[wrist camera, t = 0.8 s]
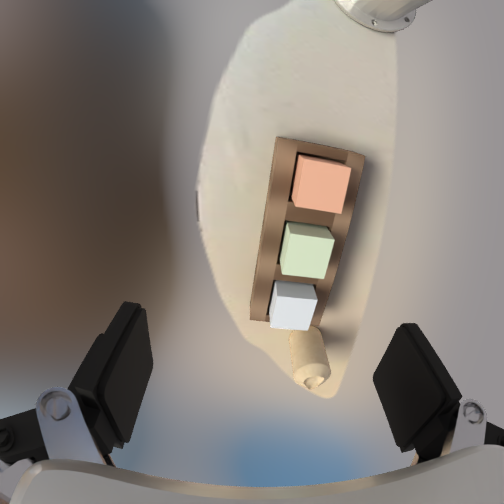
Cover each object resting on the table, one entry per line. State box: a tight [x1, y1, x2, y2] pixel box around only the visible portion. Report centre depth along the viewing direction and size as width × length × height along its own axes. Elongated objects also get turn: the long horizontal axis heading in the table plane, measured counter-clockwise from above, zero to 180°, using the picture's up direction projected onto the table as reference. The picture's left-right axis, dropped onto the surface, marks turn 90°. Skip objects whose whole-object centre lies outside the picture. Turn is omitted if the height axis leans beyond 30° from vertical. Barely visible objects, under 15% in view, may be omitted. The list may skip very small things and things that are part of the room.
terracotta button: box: [290, 154, 351, 214], centre depth 30 cm, size 5×5×4 cm
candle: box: [289, 326, 331, 389], centre depth 41 cm, size 6×6×10 cm
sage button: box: [279, 220, 335, 279], centre depth 33 cm, size 5×5×4 cm
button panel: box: [250, 137, 365, 326], centre depth 35 cm, size 24×10×4 cm, turn 172°
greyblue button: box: [269, 280, 318, 331], centre depth 36 cm, size 5×5×4 cm
